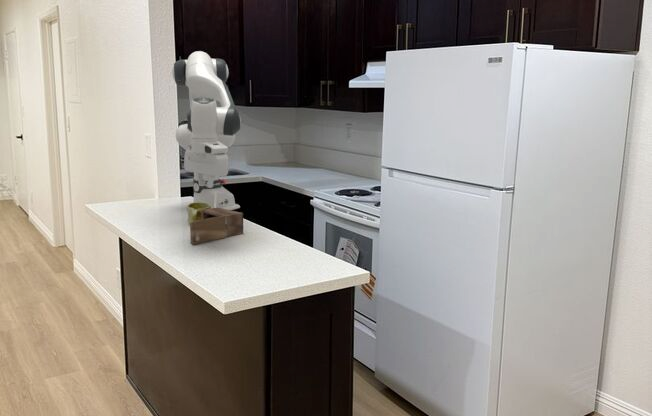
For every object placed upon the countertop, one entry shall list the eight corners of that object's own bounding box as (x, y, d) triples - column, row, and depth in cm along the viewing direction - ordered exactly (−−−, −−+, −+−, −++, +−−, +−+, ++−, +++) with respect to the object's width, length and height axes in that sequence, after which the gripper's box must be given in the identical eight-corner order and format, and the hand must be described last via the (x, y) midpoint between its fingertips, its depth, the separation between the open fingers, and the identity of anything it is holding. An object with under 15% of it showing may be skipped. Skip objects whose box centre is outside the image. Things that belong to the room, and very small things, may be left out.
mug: (190, 215, 246) (195, 195, 241) (213, 224, 244) (217, 204, 240) (176, 227, 235) (180, 206, 230) (199, 236, 234) (204, 215, 229)
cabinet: (218, 227, 235) (217, 207, 233) (243, 233, 225) (243, 212, 224) (202, 230, 229) (201, 210, 227) (227, 237, 219) (226, 216, 218)
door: (190, 243, 208) (189, 221, 206) (225, 236, 220) (224, 215, 218) (194, 245, 206) (194, 222, 205) (229, 237, 218) (229, 216, 216)
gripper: (178, 144, 204) (180, 184, 207) (216, 149, 191) (217, 191, 194) (193, 143, 209) (195, 182, 211) (231, 148, 195) (232, 189, 198)
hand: (205, 186), depth 202 cm, fingers open, 3 cm apart
